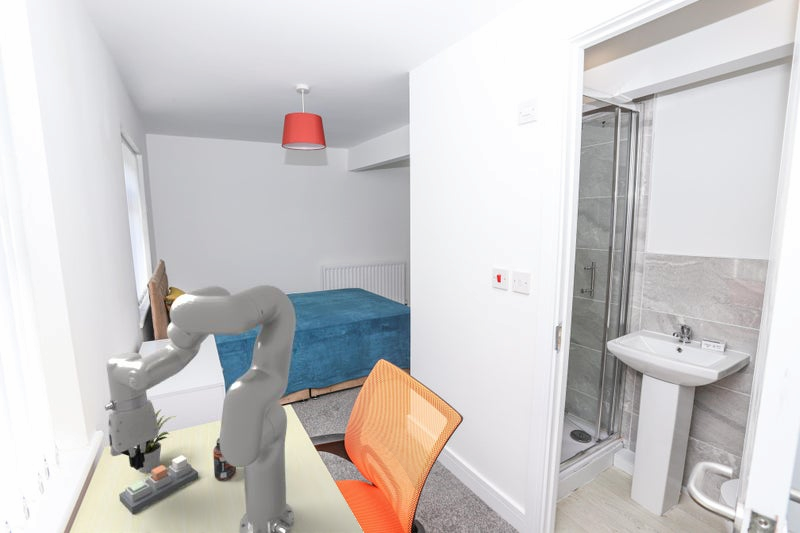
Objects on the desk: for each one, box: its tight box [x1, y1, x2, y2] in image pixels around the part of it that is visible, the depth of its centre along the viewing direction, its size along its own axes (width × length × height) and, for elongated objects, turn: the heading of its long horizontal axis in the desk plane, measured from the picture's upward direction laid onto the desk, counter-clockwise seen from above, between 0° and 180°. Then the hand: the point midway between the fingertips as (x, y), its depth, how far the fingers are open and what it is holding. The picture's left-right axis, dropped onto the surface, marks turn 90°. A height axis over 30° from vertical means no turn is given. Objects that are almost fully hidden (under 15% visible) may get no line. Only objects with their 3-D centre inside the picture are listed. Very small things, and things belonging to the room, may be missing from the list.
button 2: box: [150, 464, 168, 482], centre depth 110 cm, size 3×3×2 cm
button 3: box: [171, 454, 188, 471], centre depth 114 cm, size 3×3×2 cm
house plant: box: [134, 409, 176, 474], centre depth 120 cm, size 14×14×16 cm
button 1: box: [128, 480, 146, 493], centre depth 106 cm, size 3×3×2 cm
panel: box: [118, 461, 199, 515], centre depth 110 cm, size 8×17×4 cm, turn 145°
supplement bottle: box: [212, 437, 237, 481], centre depth 116 cm, size 6×6×11 cm
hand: (137, 466), depth 105 cm, fingers closed
